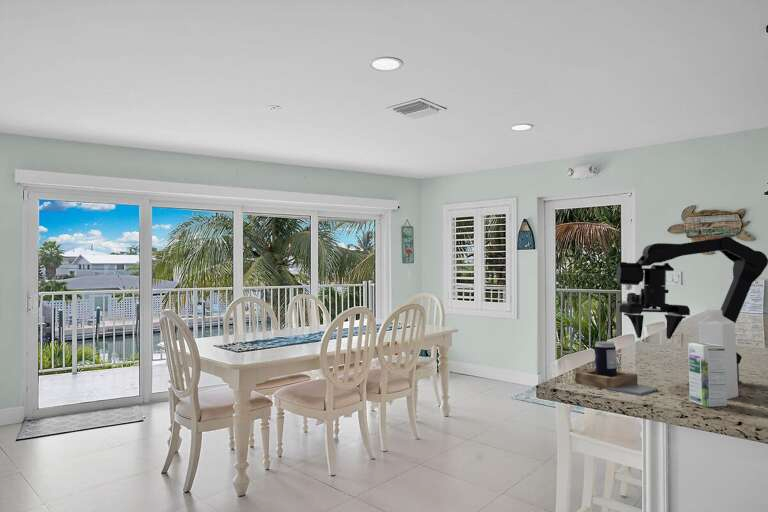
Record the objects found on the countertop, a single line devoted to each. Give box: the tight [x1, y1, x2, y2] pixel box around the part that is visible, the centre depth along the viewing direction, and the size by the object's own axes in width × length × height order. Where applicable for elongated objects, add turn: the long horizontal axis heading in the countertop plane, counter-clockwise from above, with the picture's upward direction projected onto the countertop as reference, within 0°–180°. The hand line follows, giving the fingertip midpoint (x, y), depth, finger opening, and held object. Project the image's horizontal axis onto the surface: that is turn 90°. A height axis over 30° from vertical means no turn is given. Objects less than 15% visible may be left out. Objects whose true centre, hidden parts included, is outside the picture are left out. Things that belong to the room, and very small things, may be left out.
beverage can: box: [594, 340, 617, 377], centre depth 146 cm, size 6×6×12 cm
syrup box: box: [687, 342, 728, 408], centre depth 122 cm, size 6×6×14 cm
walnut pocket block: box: [574, 368, 639, 390], centre depth 146 cm, size 12×12×3 cm
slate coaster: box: [607, 384, 658, 396], centre depth 137 cm, size 9×9×1 cm
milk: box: [697, 309, 739, 400], centre depth 130 cm, size 6×6×22 cm
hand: (653, 338), depth 149 cm, fingers open, 9 cm apart
